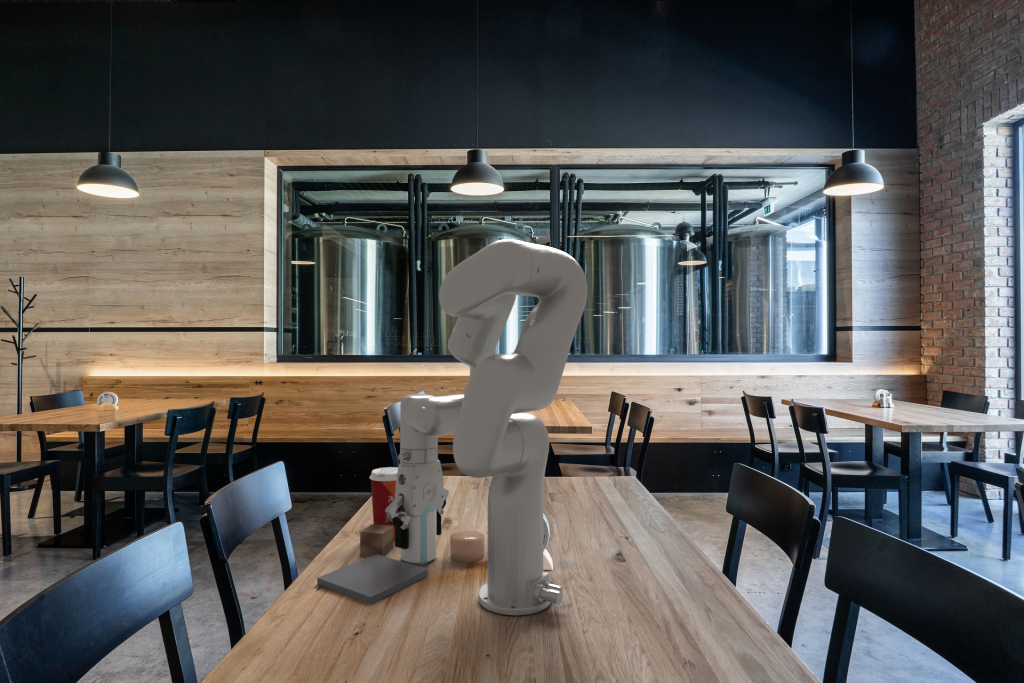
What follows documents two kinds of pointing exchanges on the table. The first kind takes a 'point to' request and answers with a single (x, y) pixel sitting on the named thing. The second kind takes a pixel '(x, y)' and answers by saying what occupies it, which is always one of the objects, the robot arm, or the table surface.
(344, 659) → the table surface
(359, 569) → the slate board
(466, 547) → the peach smooth rounded part
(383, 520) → the coffee cup
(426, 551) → the can
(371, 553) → the walnut block
